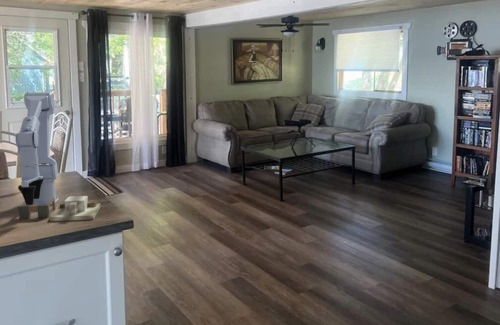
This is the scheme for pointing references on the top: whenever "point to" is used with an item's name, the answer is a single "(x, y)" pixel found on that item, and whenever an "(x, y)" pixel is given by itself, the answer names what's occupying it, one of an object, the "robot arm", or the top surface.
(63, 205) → the stand
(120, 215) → the top surface
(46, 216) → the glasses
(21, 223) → the top surface
